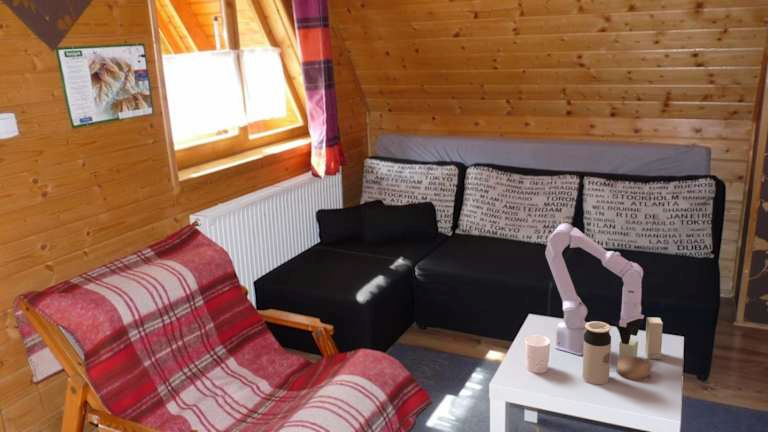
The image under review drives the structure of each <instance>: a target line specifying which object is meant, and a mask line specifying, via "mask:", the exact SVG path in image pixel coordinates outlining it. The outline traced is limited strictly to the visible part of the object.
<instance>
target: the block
mask: <svg viewBox="0 0 768 432" xmlns="http://www.w3.org/2000/svg"><path fill="white" fill-rule="evenodd" d="M638 346H639V340H637V339H633V338H630V341H629V344H628V345H627V344H623V343H622V342H621V340H620V341H619V348H618V360H619V359H621V358H623V357H636V358H638V352H639V351H638V348H639V347H638Z"/></svg>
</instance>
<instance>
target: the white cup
mask: <svg viewBox="0 0 768 432" xmlns="http://www.w3.org/2000/svg"><path fill="white" fill-rule="evenodd" d="M524 345H525V346H524V347H525V363H526V370H527V371H529V372H530V373H533V374H543V373H546V372H547V371H548V365H549V359H550V347H551V340H550V339H549V338H548V337H546V336H543V335H536V334H535V335H529V336H526V338H525V339H524Z"/></svg>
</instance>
